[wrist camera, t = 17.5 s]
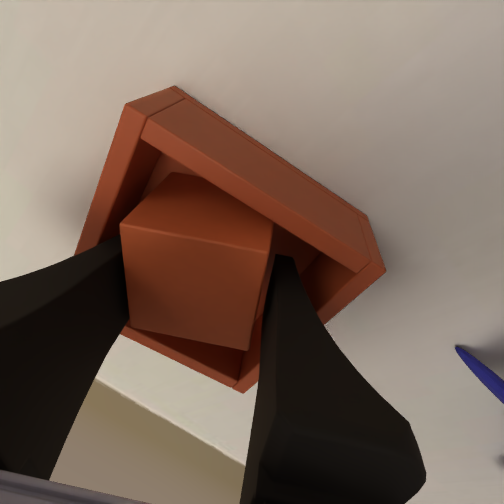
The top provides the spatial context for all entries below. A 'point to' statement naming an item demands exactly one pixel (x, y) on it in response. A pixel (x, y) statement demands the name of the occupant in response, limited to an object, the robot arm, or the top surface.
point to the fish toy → (483, 374)
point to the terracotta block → (195, 262)
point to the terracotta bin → (247, 191)
